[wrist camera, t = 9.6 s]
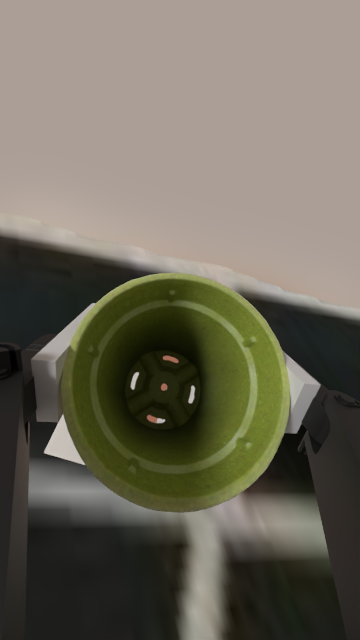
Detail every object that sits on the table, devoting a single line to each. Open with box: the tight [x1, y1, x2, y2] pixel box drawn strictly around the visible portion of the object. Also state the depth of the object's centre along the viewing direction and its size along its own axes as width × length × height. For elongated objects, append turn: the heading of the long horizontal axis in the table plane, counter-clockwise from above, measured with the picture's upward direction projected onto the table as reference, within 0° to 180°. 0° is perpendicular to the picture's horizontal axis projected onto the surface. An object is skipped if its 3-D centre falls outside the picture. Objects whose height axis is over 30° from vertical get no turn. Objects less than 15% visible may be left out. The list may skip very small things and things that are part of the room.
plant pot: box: [61, 273, 290, 512], centre depth 12 cm, size 9×9×9 cm
